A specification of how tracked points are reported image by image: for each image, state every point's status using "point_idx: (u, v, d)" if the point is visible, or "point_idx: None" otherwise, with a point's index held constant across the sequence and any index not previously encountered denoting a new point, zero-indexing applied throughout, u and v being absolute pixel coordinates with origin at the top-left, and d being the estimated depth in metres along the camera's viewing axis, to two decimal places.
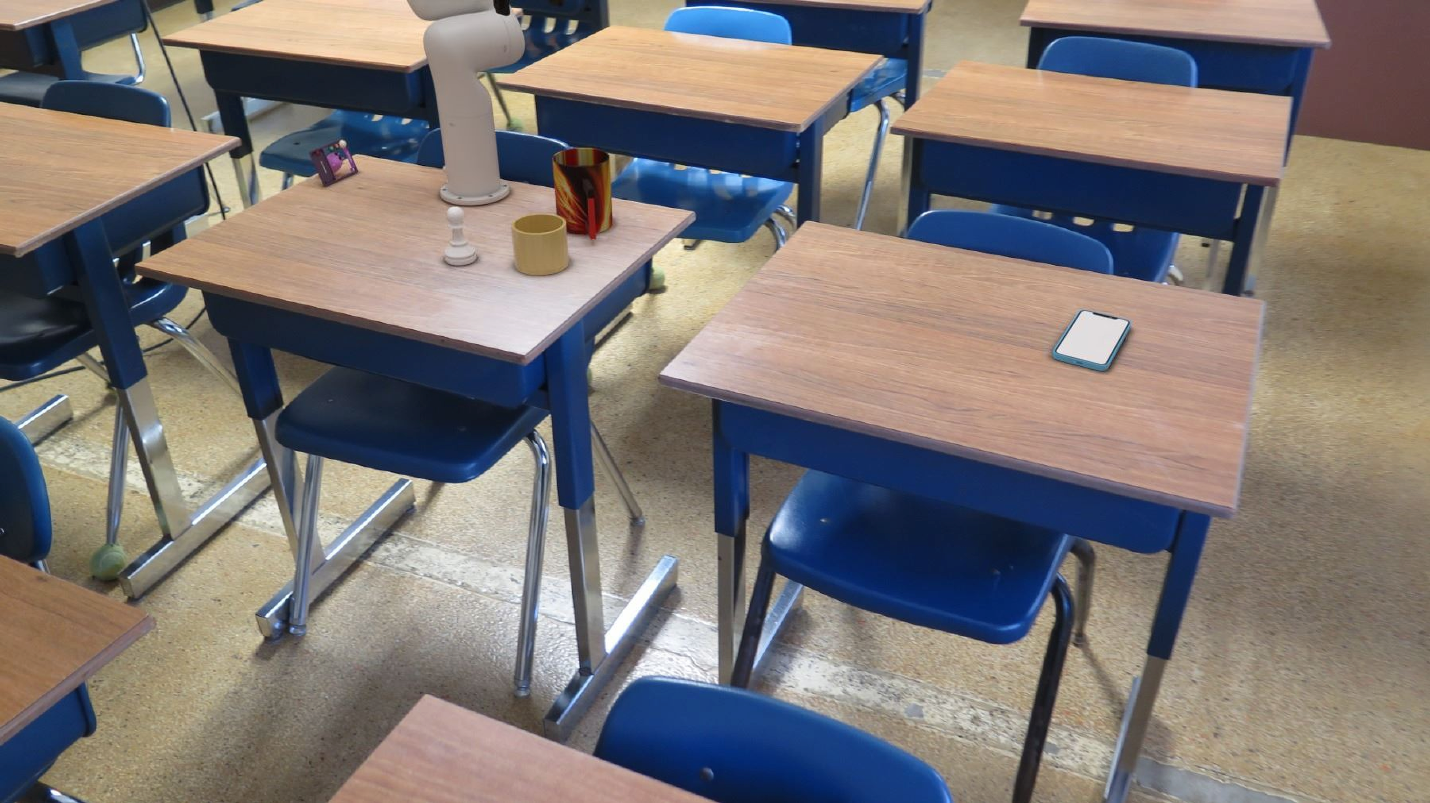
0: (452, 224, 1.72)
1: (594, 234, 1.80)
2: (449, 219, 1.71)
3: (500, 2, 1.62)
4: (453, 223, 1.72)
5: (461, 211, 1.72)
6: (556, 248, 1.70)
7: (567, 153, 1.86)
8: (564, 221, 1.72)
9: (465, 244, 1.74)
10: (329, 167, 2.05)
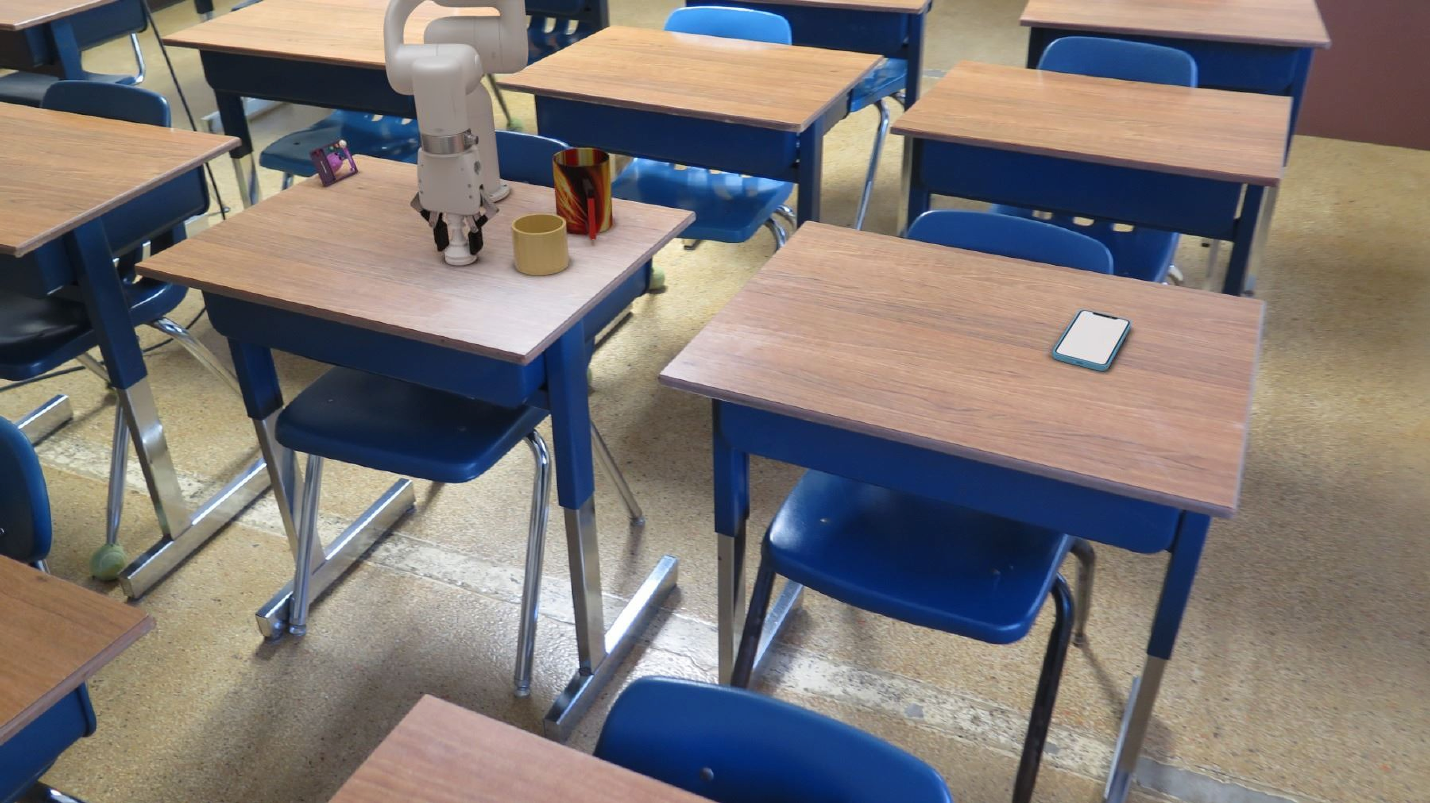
0: (452, 224, 1.72)
1: (594, 234, 1.80)
2: (449, 219, 1.71)
3: (436, 238, 1.74)
4: (453, 223, 1.72)
5: None
6: (556, 248, 1.70)
7: (567, 153, 1.86)
8: (564, 221, 1.72)
9: (465, 244, 1.74)
10: (329, 167, 2.05)
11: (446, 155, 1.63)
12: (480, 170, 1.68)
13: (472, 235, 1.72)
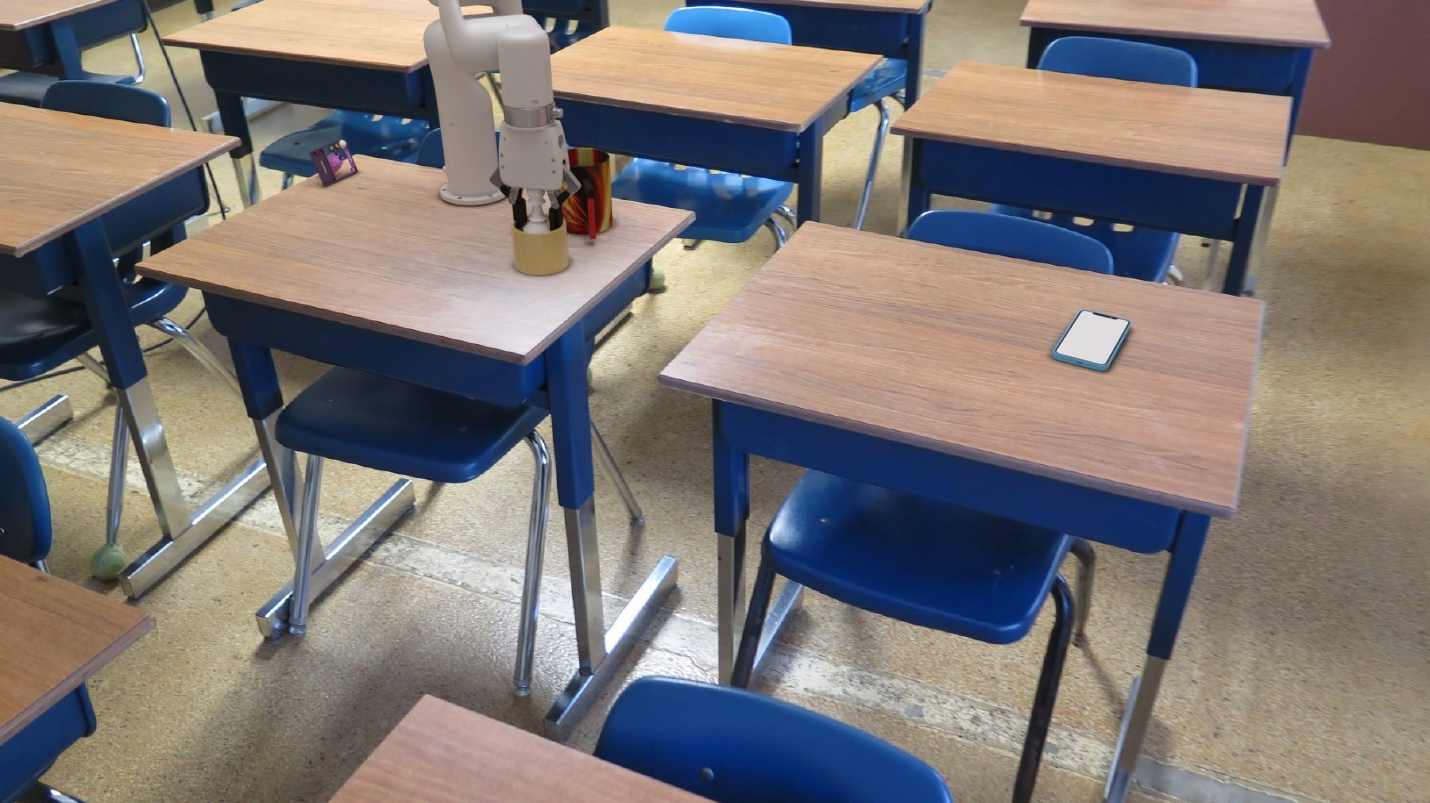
0: (532, 200, 1.68)
1: (594, 234, 1.80)
2: (530, 195, 1.68)
3: (514, 215, 1.71)
4: (533, 199, 1.68)
5: None
6: (556, 248, 1.70)
7: None
8: (564, 221, 1.72)
9: (545, 221, 1.70)
10: (329, 167, 2.05)
11: (531, 128, 1.60)
12: (563, 144, 1.64)
13: (553, 211, 1.68)
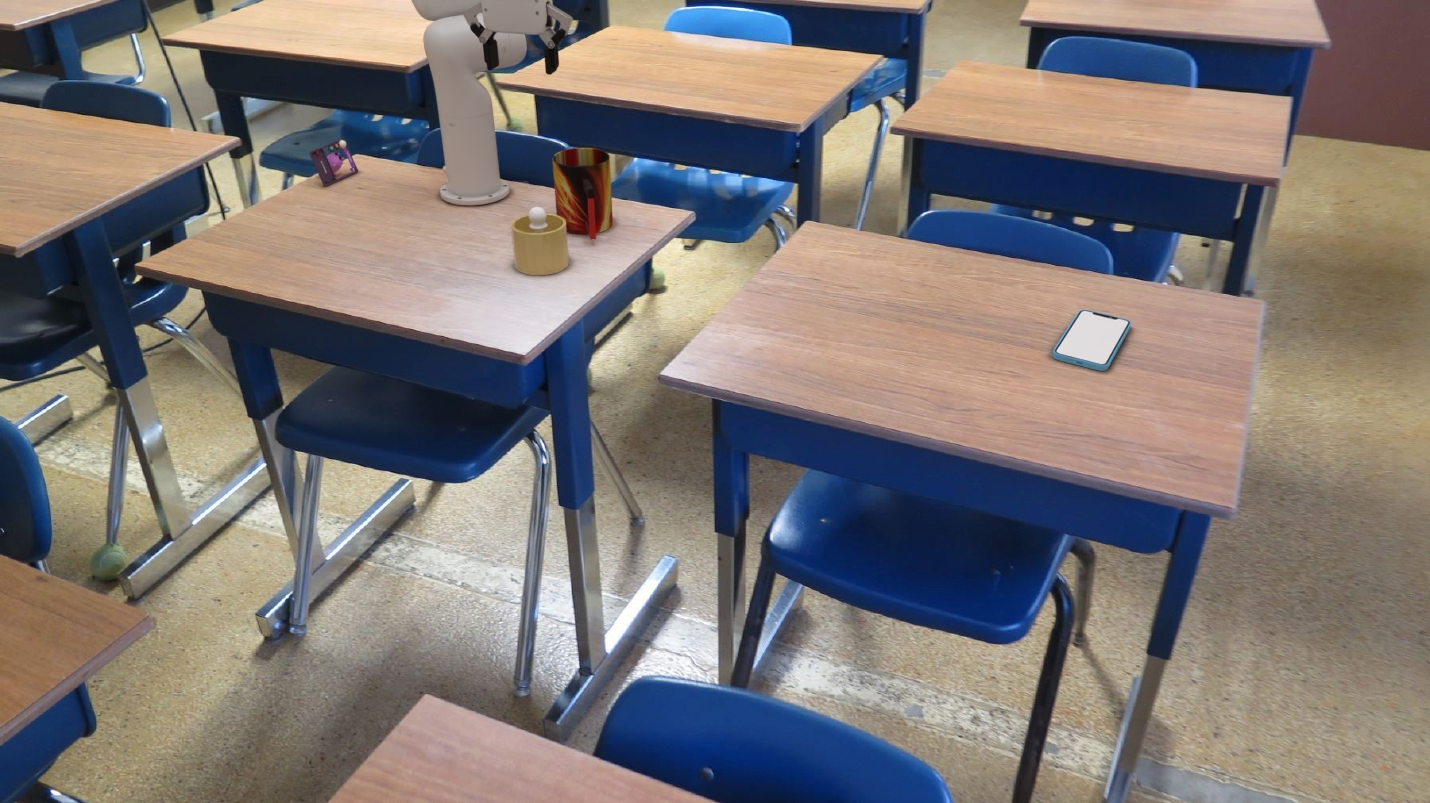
0: (534, 224, 1.71)
1: (594, 234, 1.80)
2: (531, 219, 1.70)
3: (485, 56, 1.68)
4: (535, 223, 1.70)
5: (543, 211, 1.70)
6: (556, 248, 1.70)
7: (567, 153, 1.86)
8: (564, 221, 1.72)
9: None
10: (329, 167, 2.05)
11: None
12: None
13: (549, 51, 1.65)
